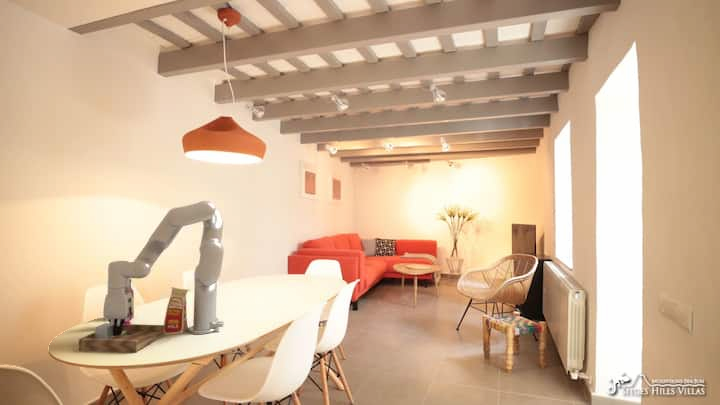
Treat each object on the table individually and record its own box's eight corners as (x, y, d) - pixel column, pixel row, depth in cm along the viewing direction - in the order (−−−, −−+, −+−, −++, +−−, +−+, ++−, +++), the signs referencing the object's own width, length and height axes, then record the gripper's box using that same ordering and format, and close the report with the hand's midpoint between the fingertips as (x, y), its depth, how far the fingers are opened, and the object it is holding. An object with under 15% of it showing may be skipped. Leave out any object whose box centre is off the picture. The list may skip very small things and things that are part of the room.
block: (115, 335, 144) (116, 323, 144) (106, 339, 139) (106, 327, 139) (104, 334, 145) (105, 322, 145) (94, 339, 140) (95, 327, 140)
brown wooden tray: (164, 335, 150) (164, 325, 150) (136, 352, 132) (136, 341, 132) (113, 333, 151) (113, 323, 151) (78, 350, 133) (79, 339, 133)
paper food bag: (162, 334, 151) (164, 289, 151) (168, 327, 160) (169, 285, 160) (185, 333, 154) (186, 288, 154) (189, 326, 162) (190, 284, 163)
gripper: (142, 289, 146) (141, 332, 145) (107, 288, 146) (106, 331, 146) (130, 293, 138) (128, 338, 138) (93, 292, 138) (92, 337, 138)
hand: (117, 334), depth 142 cm, fingers closed
